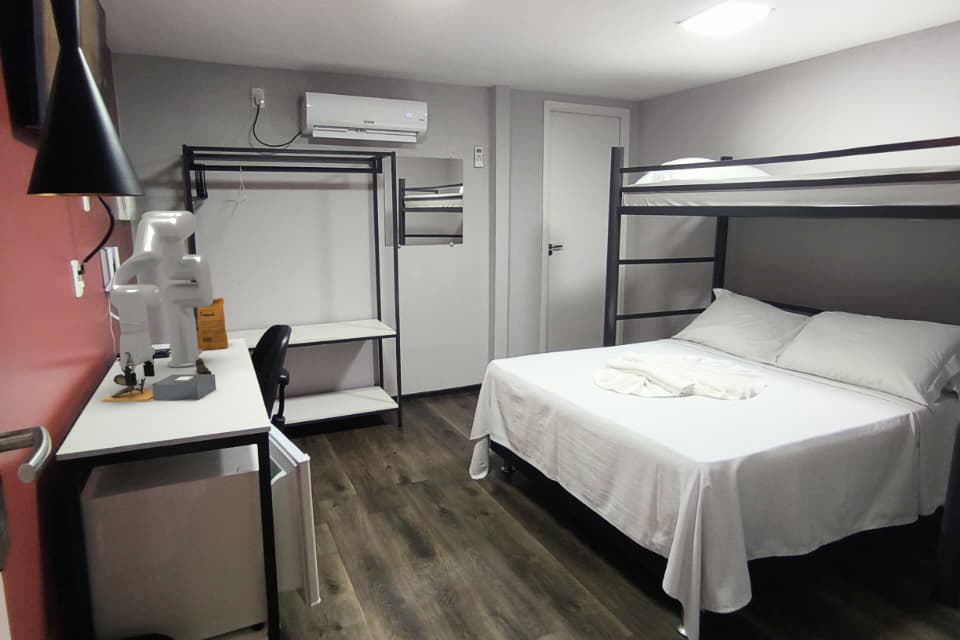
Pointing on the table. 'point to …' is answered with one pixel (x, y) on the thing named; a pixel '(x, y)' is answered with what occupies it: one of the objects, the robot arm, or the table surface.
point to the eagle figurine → (121, 381)
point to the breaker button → (184, 378)
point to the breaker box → (184, 387)
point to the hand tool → (201, 367)
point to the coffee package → (211, 326)
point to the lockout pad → (133, 396)
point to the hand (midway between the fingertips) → (140, 380)
